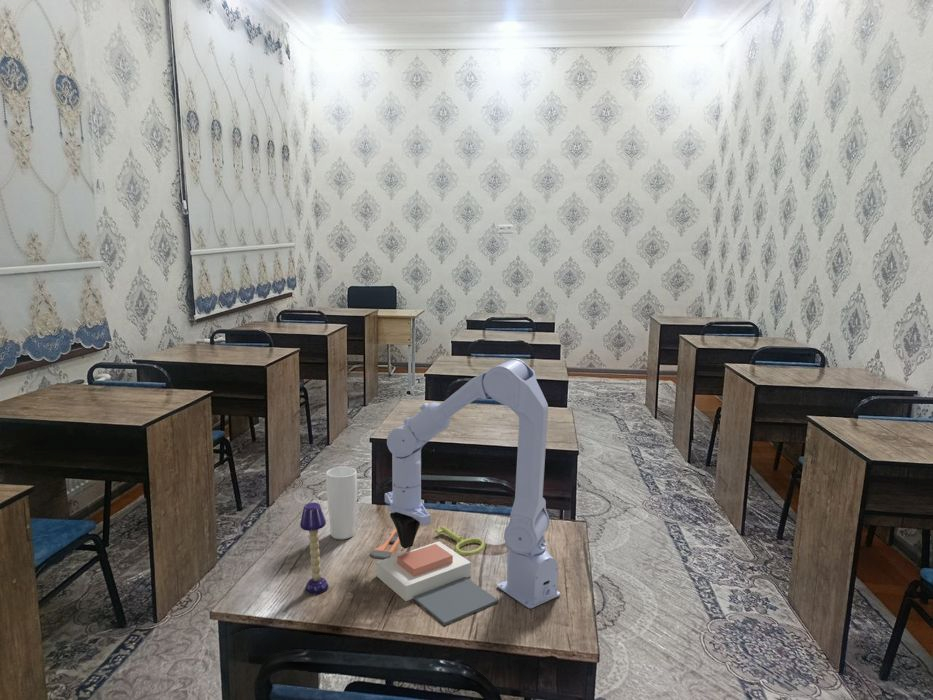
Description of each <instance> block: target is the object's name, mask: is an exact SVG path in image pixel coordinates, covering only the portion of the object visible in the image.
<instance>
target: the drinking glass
mask: <svg viewBox="0 0 933 700" xmlns="http://www.w3.org/2000/svg"><path fill="white" fill-rule="evenodd" d="M325 474H326V475H325V489H326V501H327V509H328V515H329V516H328V517H329V528H330V529H329V530H330V536H331V538H333V539H335V540H347V539H350V538H352V537H353V536H354V535H355V531H356V526H355V525H356V511H357V497H358V474H357V469H356V468H354V467H351V466H336V467H332V468H330V469H328V470H327V471H326V472H325Z"/></svg>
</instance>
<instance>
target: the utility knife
mask: <svg viewBox="0 0 933 700" xmlns="http://www.w3.org/2000/svg"><path fill="white" fill-rule="evenodd" d="M396 532H397V529H396V527H395V528H394V529H393V530H392V531H391V533H390V534H389V535H390V536H389V537H388V538H387V540H386V541H385V542H384V543H383V544H381V545H380V546H378V547H376V548H374V549H372V551H371V552H370V557H372V558H374V559H379V560H384V559H387V558H390V557H392V555H393V553H394V552H395V550H396V548H397V546H399V544H400V541H399V536H398V533H396ZM389 544H392V545H391V547H390V549H389V550H386V549H387V548H388V546H389Z"/></svg>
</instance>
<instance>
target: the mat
mask: <svg viewBox="0 0 933 700" xmlns="http://www.w3.org/2000/svg"><path fill="white" fill-rule="evenodd" d="M412 600H413V601H415V602H416V603H417V604H418V605H420V607H422V609H425V610H426V611H427V612H428V613H429V614H431V616H433V617H434V619H436V620H437V621H438V622H440V623H441V624H442V625H443V626H446V625H449V624H451V623H453V622H456V621H458V620H460V619H463V618H465V617H468V616H470V615H472V614H475V613H477V612H480V611H482V610H484V609H486V608H489V607H491V606H493V605H495V604H497V603H499V599H497V598H496V597H495V596H493V595H492V594H491V593H489V592H488V591H486V590H485V589H483V588H482V587H480V586H479V585H477V584H476V583H475V582H473V581H472V580H470V579H469V577H468V578H466V577H464V578H461V579H458V580H456V581H453V582H451V583H448V584H445V585H443V586H440V587H438V588H435V589H432V590H430V591H427V592H425V593H422V594H419V595H417V596H414V597H413V599H412Z"/></svg>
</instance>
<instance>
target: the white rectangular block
mask: <svg viewBox="0 0 933 700" xmlns="http://www.w3.org/2000/svg"><path fill="white" fill-rule="evenodd" d="M434 544H436V545H438V546H439V547H441V548H442V549H444V550H445V551H447V552H448V553H450V554H451V555H453V563H450V564H448V565H445V566H442V567H439V568H437V569H434V570H431V571H428V572H425V573H423V574H420V575H417V576H412V575H411V574H410V573H409V572H407V571H406V570H405V569H404V568H402V567H401V566H400V565H398V564H397V557H398V556H401V555H404V554H407V553H410V552H413V551H416V550H419V549H422V548H425V547H428V546H431V545H434ZM375 563H376V569H375V570H376V577H377V579H379V580H381V582H383V583H384V584H385V585H386V587H389V588H390V589H391V590H392V591H393V592H395V594H397V595H398V596H399V597H401V599H403V600H404V601H405V602H407V601H411V600H414V599H413V597H414V596H417V595H419V594H422V593H425V592H427V591H430V590H432V589H435V588H438V587H440V586H443V585H445V584H448V583H451V582H453V581H456V580H458V579H461V578H464V577H466V578H468V579H469V578H470V577H471V576H472V573H471V572H472V562H471V561H470V560H468V559H466V558H465V557H464V556H463V555H460V554H458V553H456V552H455V550H454V549H452V548H450V547H448V546H447V545H446V544H444V543H443V542H441V541H436V542H432V543H430V544H427V545H423V546H420V547H418V548H415V549H412V550H409V551H406V552H403V553H399V554H396V555H394V556H390V557H389V558H387V559H380V560H378V561H376V562H375Z"/></svg>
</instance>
